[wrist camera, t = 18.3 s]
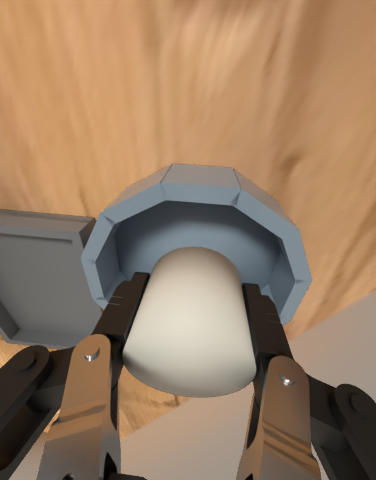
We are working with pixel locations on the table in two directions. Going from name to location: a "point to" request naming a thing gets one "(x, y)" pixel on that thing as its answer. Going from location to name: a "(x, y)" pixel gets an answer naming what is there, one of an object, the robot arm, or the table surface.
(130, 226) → the bowl
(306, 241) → the table surface
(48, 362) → the robot arm
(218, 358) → the marshmallow
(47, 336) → the parts tray
